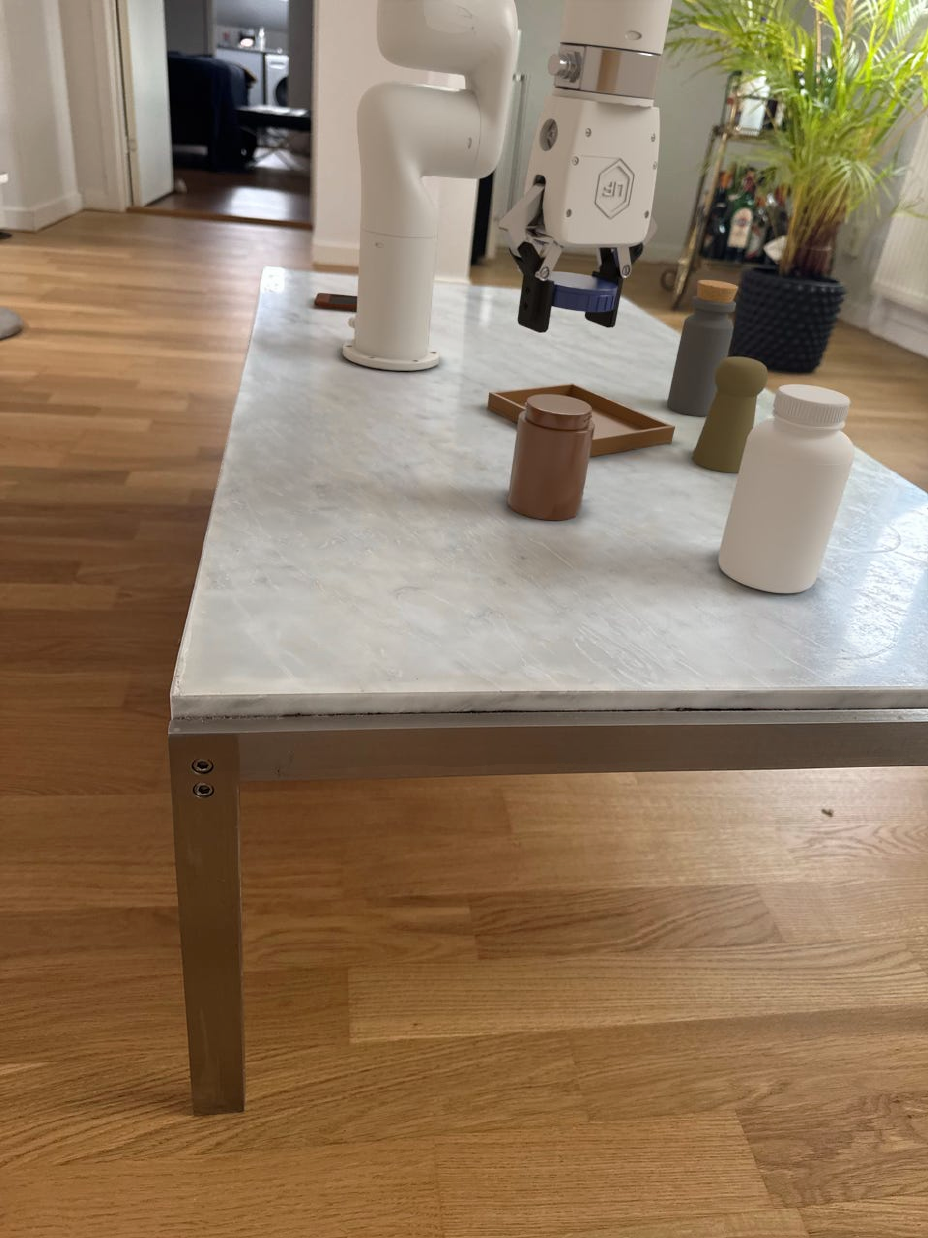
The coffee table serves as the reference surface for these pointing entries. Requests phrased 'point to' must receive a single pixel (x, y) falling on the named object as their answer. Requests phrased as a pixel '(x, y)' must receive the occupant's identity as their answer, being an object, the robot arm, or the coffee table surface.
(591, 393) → the tray
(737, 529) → the pill bottle
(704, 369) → the bottle
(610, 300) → the lid
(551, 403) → the jar
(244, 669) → the coffee table surface
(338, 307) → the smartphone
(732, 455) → the olive pepper mill
